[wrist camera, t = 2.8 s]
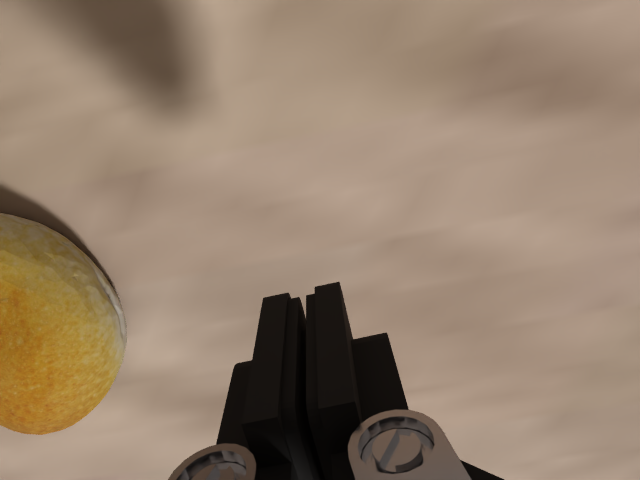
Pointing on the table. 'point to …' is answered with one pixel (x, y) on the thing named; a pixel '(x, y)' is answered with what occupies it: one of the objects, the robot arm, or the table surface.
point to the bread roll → (53, 329)
